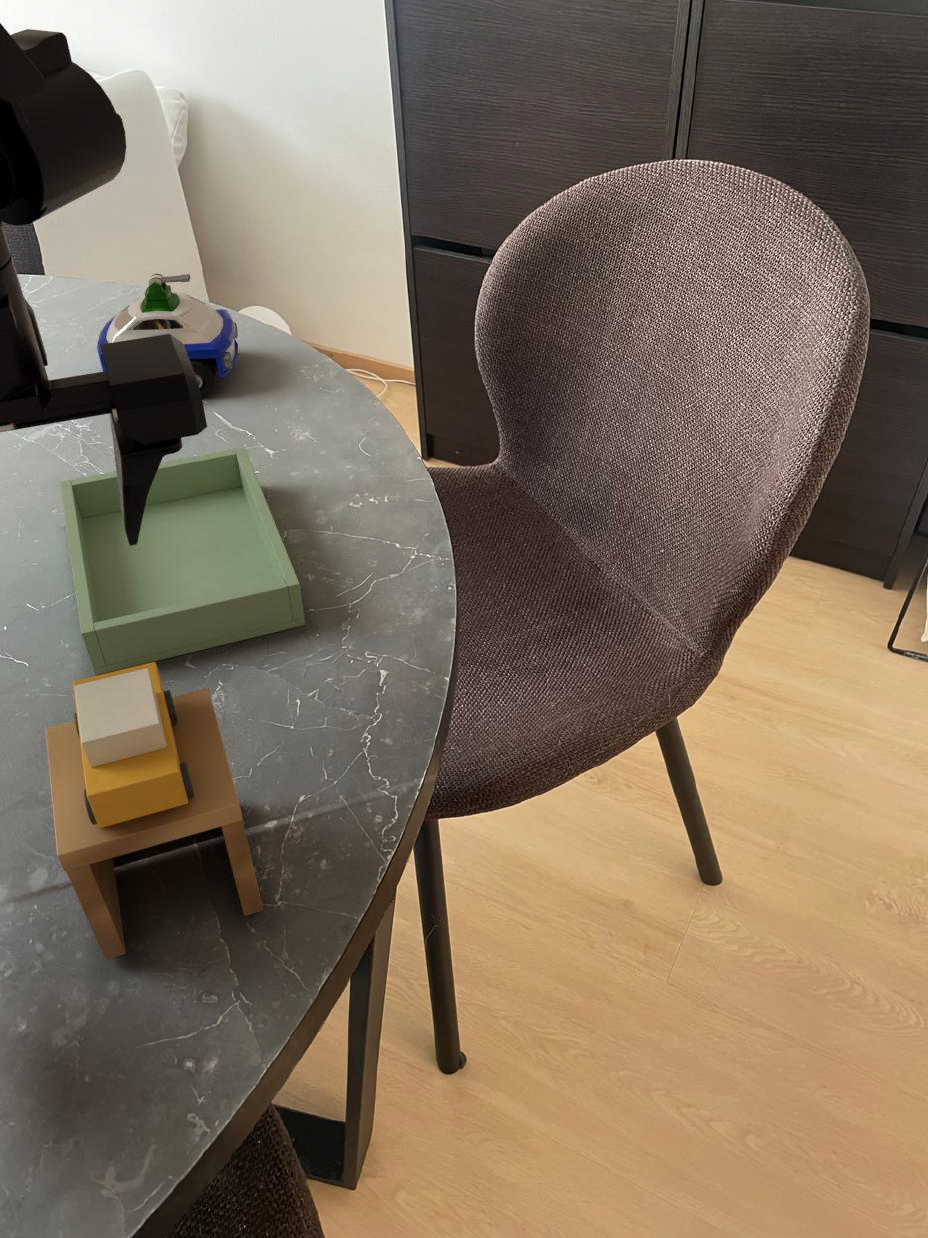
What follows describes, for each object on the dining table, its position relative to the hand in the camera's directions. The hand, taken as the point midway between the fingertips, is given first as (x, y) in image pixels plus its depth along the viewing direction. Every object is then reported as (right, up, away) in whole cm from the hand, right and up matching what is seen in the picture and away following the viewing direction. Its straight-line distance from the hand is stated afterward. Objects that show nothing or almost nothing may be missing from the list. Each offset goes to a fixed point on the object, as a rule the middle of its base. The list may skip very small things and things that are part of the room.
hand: (41, 559), depth 52 cm
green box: (+2, 0, +19) cm, 19 cm away
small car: (+7, -10, -6) cm, 13 cm away
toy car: (-5, +19, +41) cm, 45 cm away
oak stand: (+7, -17, 0) cm, 18 cm away
